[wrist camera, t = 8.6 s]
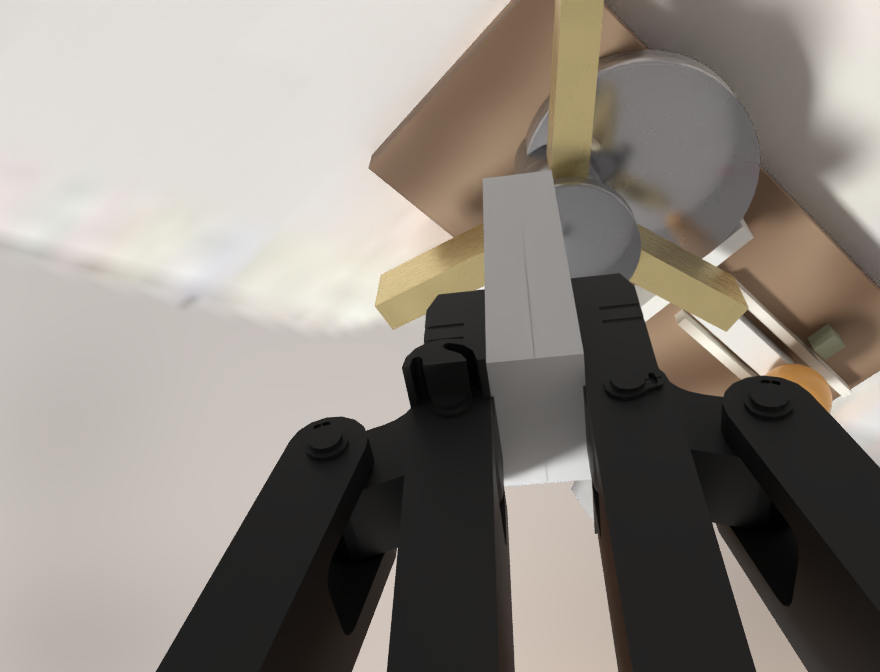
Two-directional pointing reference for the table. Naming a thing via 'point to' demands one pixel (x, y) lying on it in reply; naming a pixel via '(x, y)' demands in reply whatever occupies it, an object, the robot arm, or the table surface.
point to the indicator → (749, 331)
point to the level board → (671, 329)
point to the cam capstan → (620, 177)
